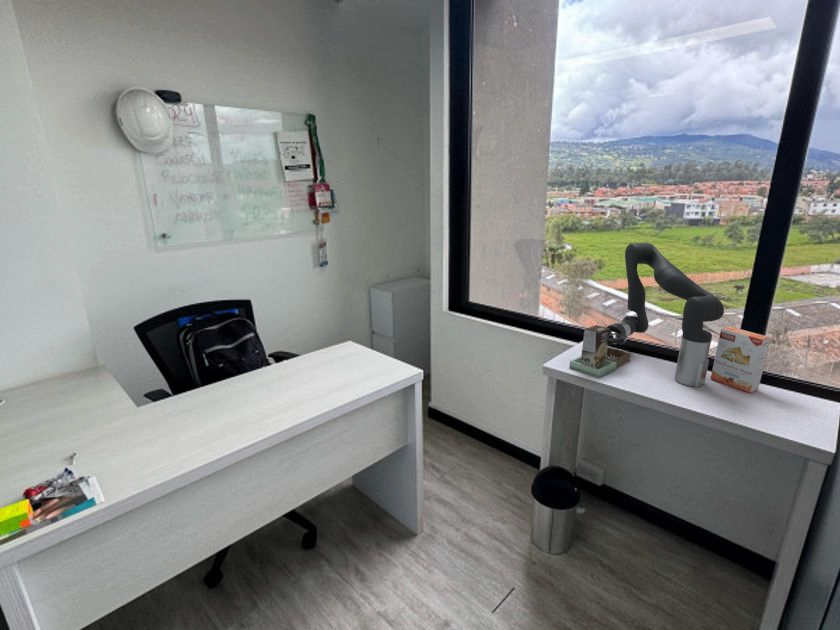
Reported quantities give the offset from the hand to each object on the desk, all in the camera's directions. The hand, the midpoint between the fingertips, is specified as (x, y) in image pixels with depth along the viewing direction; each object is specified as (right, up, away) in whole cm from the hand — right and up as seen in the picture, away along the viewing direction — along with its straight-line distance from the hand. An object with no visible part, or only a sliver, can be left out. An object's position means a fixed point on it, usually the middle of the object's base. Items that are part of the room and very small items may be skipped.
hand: (598, 340), depth 177 cm
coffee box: (-1, -11, +2) cm, 11 cm away
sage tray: (-1, -12, +2) cm, 12 cm away
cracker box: (+46, -16, -12) cm, 50 cm away
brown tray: (+10, -10, +10) cm, 17 cm away
